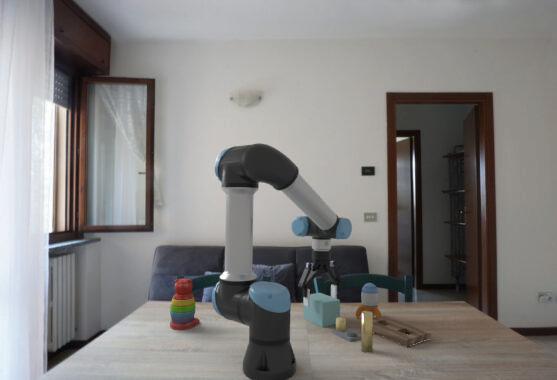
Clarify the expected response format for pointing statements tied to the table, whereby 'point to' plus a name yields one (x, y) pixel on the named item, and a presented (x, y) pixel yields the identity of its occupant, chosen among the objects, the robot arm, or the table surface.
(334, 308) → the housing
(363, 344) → the peg
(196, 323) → the stacking bear
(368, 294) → the toy rocket
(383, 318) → the board
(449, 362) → the table surface
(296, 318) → the table surface
